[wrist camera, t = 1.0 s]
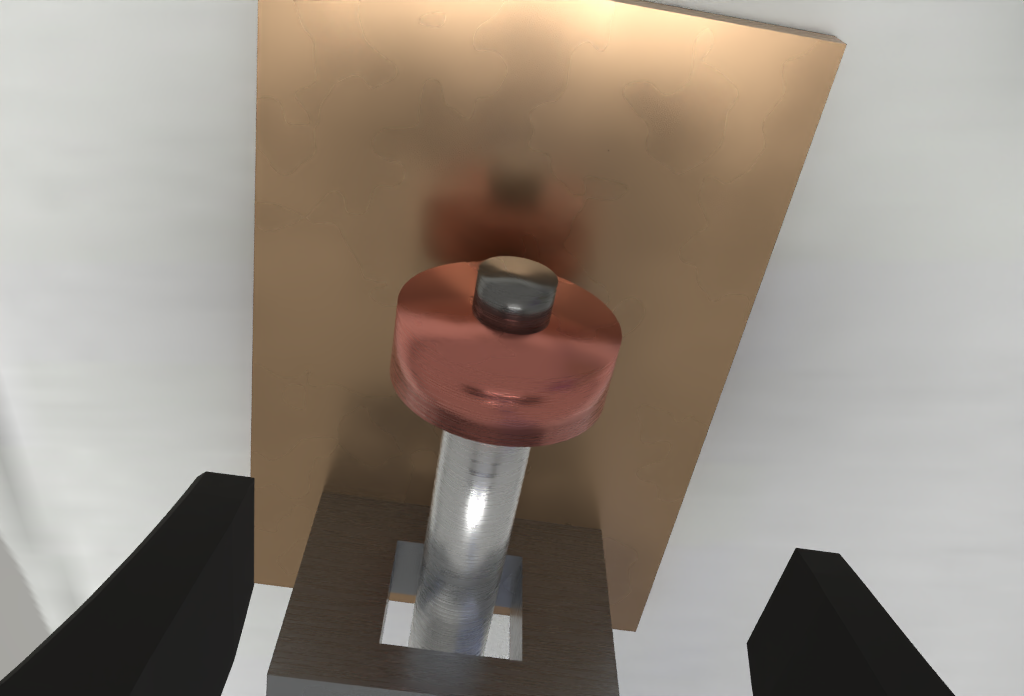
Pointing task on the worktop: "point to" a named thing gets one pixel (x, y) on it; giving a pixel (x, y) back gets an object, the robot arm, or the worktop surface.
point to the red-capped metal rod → (491, 416)
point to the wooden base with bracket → (476, 237)
